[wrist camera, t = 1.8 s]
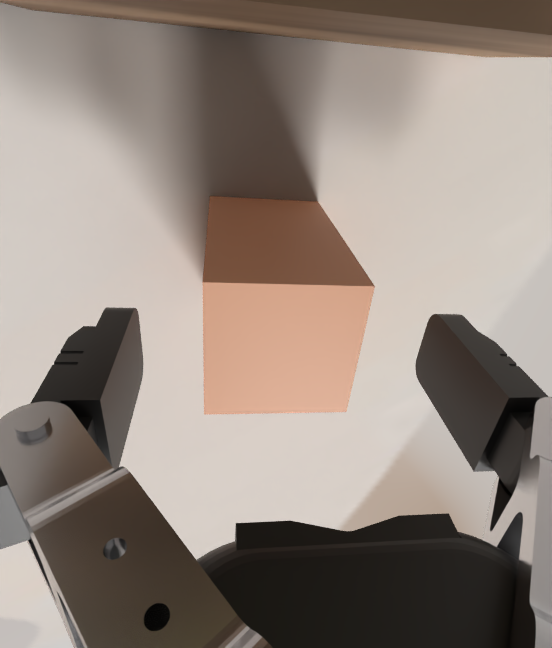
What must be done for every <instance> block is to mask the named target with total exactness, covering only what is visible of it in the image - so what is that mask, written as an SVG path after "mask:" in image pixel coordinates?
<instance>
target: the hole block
mask: <svg viewBox="0 0 552 648" xmlns="http://www.w3.org/2000/svg"><path fill="white" fill-rule="evenodd" d="M0 2H2V3H6V4H10V5H14V6H18V7H22V8H26V9H30V10H37V11H47V12H57V13H66V14H76V15H85V16H95V17H105V18H114V19H124V20H134V21H143V22H153V23H163V24H172V25H182V26H191V27H201V28H211V29H220V30H230V31H240V32H249V33H259V34H269V35H278V36H288V37H297V38H307V39H317V40H326V41H336V42H346V43H355V44H365V45H375V46H384V47H394V48H403V49H413V50H423V51H432V52H442V53H452V54H461V55H471V56H481V57H552V0H0Z"/></svg>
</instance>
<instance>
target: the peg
mask: <svg viewBox="0 0 552 648" xmlns="http://www.w3.org/2000/svg"><path fill="white" fill-rule="evenodd" d="M374 288H375V286H374V285H373V283H372V282H371V280H370V279H369V277H368V276H367V274H366V273H365V271H364V270H363V268H362V267H361V265H360V264H359V262H358V261H357V259H356V258H355V256H354V255H353V253H352V252H351V250H350V249H349V247H348V246H347V244H346V243H345V241H344V240H343V238H342V237H341V235H340V234H339V232H338V231H337V229H336V228H335V226H334V225H333V223H332V222H331V220H330V219H329V217H328V216H327V214H326V213H325V212H324V210H323V209H322V207H321V206H320V204H319V203H318V202H317V201H297V200H277V199H258V198H238V197H219V196H210V201H209V213H208V225H207V237H206V249H205V261H204V273H203V350H204V414H253V413H309V412H346V411H347V407H348V402H349V398H350V393H351V389H352V385H353V380H354V376H355V371H356V367H357V363H358V358H359V354H360V349H361V345H362V341H363V336H364V332H365V327H366V323H367V318H368V314H369V310H370V305H371V301H372V296H373V292H374Z"/></svg>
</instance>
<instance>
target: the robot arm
mask: <svg viewBox="0 0 552 648" xmlns="http://www.w3.org/2000/svg"><path fill="white" fill-rule="evenodd" d="M142 375H143V353H142V343H141V334H140V324H139V315H138V311H137V309H136V308H105V310H104V311H103V313H102V315H101V317H100V319H99V322H98V324H97V326H96V327H93V326H83V327H82V328H81V329H79V330H78V331H77V332H75V333H74V334H73V335H71V336H70V337H69V338H68V339H67V341H66V343H65V344H64V346H63V348H62V349H61V354H59V355H58V356H57V358H56V360H55V362H54V365H52V367H51V369H50V370H49V372H48V374H47V376H46V377H45V379H44V381H43V383H42V384H41V386H40V388H39V390H38V391H37V393H36V395H35V397H34V398H33V400H32V402H31V404H27V405H24V406H21V407H19V408H17V409H14V410H13V411H11V412H9V413H7V414H6V415H5V416H3V417H2V418H1V419H0V549H3V548H6V547H9V546H12V545H15V544H18V543H21V542H24V541H27V542H28V544H29V546H30V549H31V551H32V553H33V555H34V558H35V560H36V562H37V564H38V566H39V569H40V571H41V573H42V575H43V578H44V580H45V582H46V584H47V586H48V589H49V591H50V593H51V595H52V597H53V600H54V602H55V604H56V606H57V609H58V611H59V613H60V615H61V618H62V620H63V622H64V625H65V627H66V630H67V632H68V635H69V637H70V639H71V642H72V644H73V646H74V648H552V397H548V396H547V395H546V394H545V393H544V392H543V391H542V390H541V389H540V388H539V387H538V385H537V384H536V383H534V381H533V380H532V379H530V377H529V376H528V375H527V374H526V373H525V372H524V371H523V370H522V369H521V368H520V367H519V366H516V363H515V362H514V361H513V360H512V359H511V358H510V357H507V354H506V353H505V352H504V350H503V349H502V348H500V346H499V345H498V344H497V343H495V342H494V341H492V340H491V339H489V338H488V337H486V336H485V335H483V334H481V333H480V332H478V331H477V330H476V329H475V328H474V327H473V326H472V325H471V324H470V323H469V322H468V320H467V319H466V318H465V317H464V316H462V315H457V314H434V315H432V316H431V317H430V319H429V321H428V323H427V327H426V330H425V333H424V336H423V340H422V343H421V346H420V349H419V353H418V356H417V359H416V375H417V378H418V380H419V382H420V384H421V386H422V387H423V389H424V390H425V392H426V394H427V395H428V397H429V399H430V400H431V402H432V404H433V405H434V407H435V408H436V410H437V412H438V413H439V415H440V417H441V418H442V420H443V422H444V423H445V425H446V426H447V428H448V430H449V431H450V433H451V435H452V436H453V438H454V440H455V441H456V443H457V444H458V446H459V448H460V449H461V451H462V453H463V454H464V456H465V458H466V459H467V461H468V462H469V464H470V466H471V467H472V469H473V471H495V472H496V473H497V475H498V477H497V479H496V480H495V482H494V485H493V488H492V493H491V498H490V504H489V509H488V514H487V519H486V525H485V530H484V535H483V540H481V539H478V538H476V537H473V536H470V535H467V534H464V533H461V532H457V530H456V528H455V526H454V524H453V522H452V520H451V517H450V516H449V514H427V515H407V516H397V517H394V518H391V519H388V520H385V521H382V522H379V523H376V524H373V525H370V526H367V527H364V528H361V529H358V530H355V531H348V532H347V531H340V530H335V529H330V528H325V527H320V526H315V525H310V524H305V523H299V522H294V521H276V522H254V523H236V532H235V542H232V543H229V544H226V545H223V546H221V547H219V548H217V549H214V550H212V551H210V552H209V553H207V554H205V555H204V556H202V557H201V558H199V559H197V560H196V559H195V558H194V557H193V555H192V554H191V553H190V551H189V550H188V549H187V547H186V546H185V545H184V543H183V542H182V541H181V539H180V538H179V537H178V535H177V534H176V533H175V531H174V530H173V529H172V527H171V526H170V525H169V523H168V522H167V521H166V519H165V518H164V517H163V515H162V514H161V513H160V511H159V510H158V509H157V507H156V506H155V505H154V503H153V502H152V501H151V499H150V498H149V497H148V495H147V494H146V493H145V491H144V490H143V489H142V487H141V486H140V485H139V483H138V482H137V481H136V479H135V478H134V477H133V475H132V474H131V473H130V472H129V471H128V470H127V469H126V468H125V467H119V464H120V461H121V457H122V453H123V449H124V446H125V442H126V438H127V434H128V430H129V427H130V423H131V419H132V415H133V411H134V408H135V404H136V400H137V396H138V393H139V389H140V385H141V381H142Z"/></svg>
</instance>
